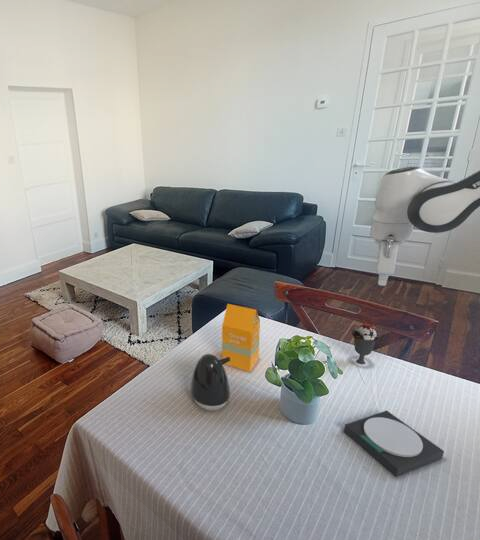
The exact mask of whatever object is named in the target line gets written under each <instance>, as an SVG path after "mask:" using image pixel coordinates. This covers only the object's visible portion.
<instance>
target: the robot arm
mask: <svg viewBox="0 0 480 540" xmlns="http://www.w3.org/2000/svg"><path fill="white" fill-rule="evenodd" d="M374 207H375V213H373V216H372V220H371V227H370V232H369V237H371V238H372V239H374V243H375V244H377V245H378V252H377V253H378V255H377V262H376V267H375V273H376V274H378V281H377V285H379V286H383V287H386V286H387V282H388V279H389V276H392V275H394V273H395V269H396V263H397V257H398V251H399V246H403V245H404V244H405V241H409V240H411V239H412V238H413V234H414V233H413V232H414V228H415V229H418V230H420V231H422V232H426V233H432V234H440V233H446V232H449V231H452V230H454V229H455V228H456V229H457V228H458V227H459V226H461V225H462V224H463V223H464V222H465V221H466V220H467V219H468V218H469V217H470V216H471V215H472V214H473V212H475V211H476V210H477V209H478V208H479V207H480V169H479V170H477V171H475V172H473V173H472V174H470V175H468V176H466V177H464V178H463V179H460V180H459V181H458V180H453V179H449V178H444V177H441V176H438V175H436V174H432V173H430V172H428V171H426V169H425V170H424V168H422V167H420V166H406V167H401V168H397V169H393V170H392V169H391V170H390V171H387V172H386V173H385V174H384V175H382V177H381V178H380V180H379V183H378V186H377V191H376V195H375V200H374Z"/></svg>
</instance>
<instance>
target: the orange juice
mask: <svg viewBox="0 0 480 540" xmlns="http://www.w3.org/2000/svg"><path fill="white" fill-rule="evenodd" d="M260 331H261V319H260V316H259V313H258V311H257V309H255V308H251V307H246V306H241V305H236V304H231V303H227V304H226V308H225V312H224V316H223V322H222V325H221V352H222V353H221V357H222V358H221V359H223V358H226V357H230V361H229V362H227V363H225V364H224V365H228V366H231V367H233V368H237V369H239V370H243V371H246V372H252V370H253V368H254V366H256V363H257V362H258V360H259V354H260V353H259V352H260Z"/></svg>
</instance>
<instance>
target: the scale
mask: <svg viewBox="0 0 480 540" xmlns="http://www.w3.org/2000/svg"><path fill="white" fill-rule="evenodd" d="M343 433H344V434H346V435H347V436H348V437H349V438H350V439H351V440H352V441H353V442H355V443H356V444H357V445H358V446H359V447H361V449H362V450H364V451H365V452H366V453H367V454H369V456H370V457H372V458H373V459H374V460H375V461H376V462H378V463H379V464H380V465H381V466H382V467H383V468H385V469H386V470H387V471H388V472H389V473H390V474H391V475H393V476H394V477H395V478H397V477H400V476H403V475H405V474H408V473H410V472H412V471H415V470H418V469H420V468H423V467H425V466H428V465H430V464H433V463H436V462H438V461H440V460H442V459H443V456H444V454H445V450H443V449H442V448H440V447H439V446H438V445H436V444H435V443H433V442H432V441H430V440H429V439H428V438H426V437H425V436H423V435H422V434H421V433H419V432H418V431H417V430H415V429H414V428H413V427H410V425H408V424H407V423H405V422H404V421H402V420H401V419H400V418H399V417H397V416H395V415H394V414H392V413H391V412H390V411H388V410H384V411H381V412H378V413H375V414H372V415H369V416H366V417H364V418H363V417H362V418H360V419H358V420H354V421H352V422H349V423H346V424H344V429H343Z"/></svg>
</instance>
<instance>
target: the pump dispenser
mask: <svg viewBox="0 0 480 540" xmlns="http://www.w3.org/2000/svg"><path fill="white" fill-rule="evenodd" d="M229 361H230V357H226V358H223V359H222V358H220V359H219V358H218V357H217V356H216V355H214V354H212V353H206V354H203V355H202V356H200V357H199V359H198V361H197V362H196V364H195V367H194V369H193V372H192V375H191V380H190V394H191V396H192V398H193V400H194V402H195V404H196V405H197V406H199V408H201V409H203V410H206V411H213V412H214V411H218V410H220V409H222V408H223V407H225V406H226V404H227V402H228V401H229V399H230V397H231V388H230V382H229V376H228V375H227V371H226V369H225V367H224V365H226V364H225V363H227V362H229Z"/></svg>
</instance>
